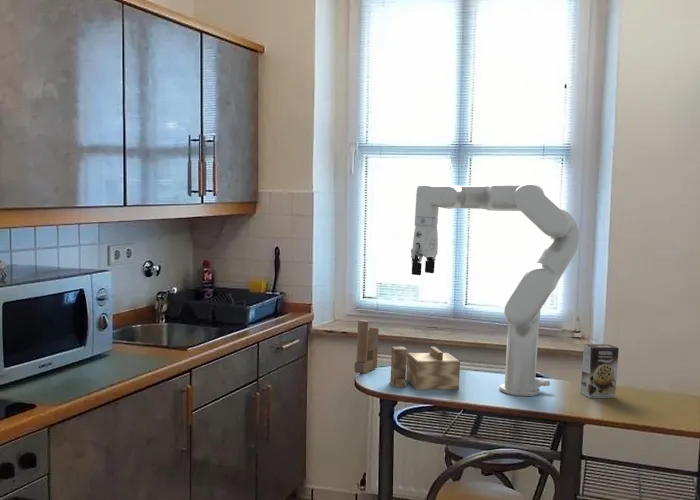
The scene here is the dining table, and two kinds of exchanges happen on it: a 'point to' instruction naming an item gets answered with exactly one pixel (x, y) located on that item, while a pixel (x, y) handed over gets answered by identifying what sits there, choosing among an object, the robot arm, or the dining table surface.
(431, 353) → the lid
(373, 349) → the wooden block
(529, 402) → the dining table surface
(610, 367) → the coffee box
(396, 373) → the tall wooden pillar
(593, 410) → the dining table surface
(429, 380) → the toolbox
